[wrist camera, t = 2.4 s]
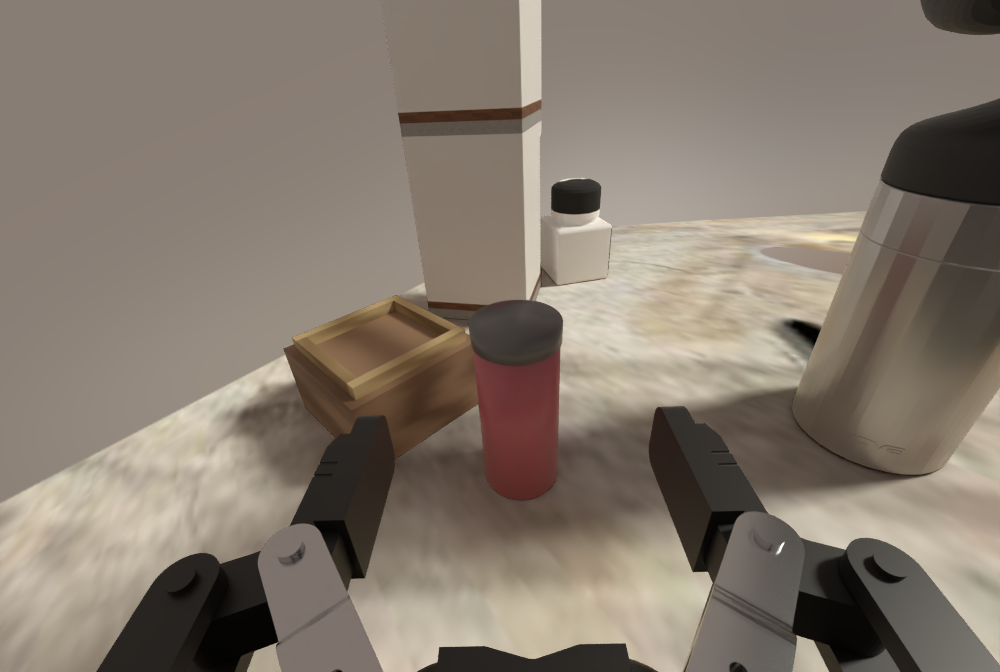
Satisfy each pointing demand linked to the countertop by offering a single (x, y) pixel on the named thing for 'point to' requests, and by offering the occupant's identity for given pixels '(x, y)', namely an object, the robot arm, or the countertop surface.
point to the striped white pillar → (471, 144)
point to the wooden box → (386, 371)
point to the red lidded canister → (518, 394)
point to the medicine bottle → (575, 233)
